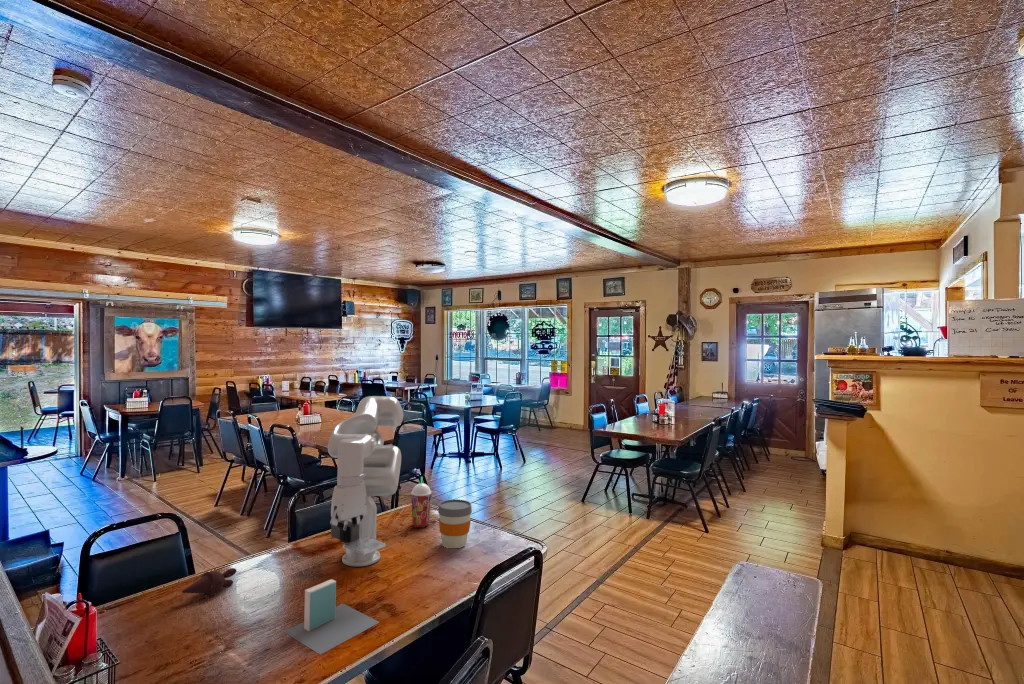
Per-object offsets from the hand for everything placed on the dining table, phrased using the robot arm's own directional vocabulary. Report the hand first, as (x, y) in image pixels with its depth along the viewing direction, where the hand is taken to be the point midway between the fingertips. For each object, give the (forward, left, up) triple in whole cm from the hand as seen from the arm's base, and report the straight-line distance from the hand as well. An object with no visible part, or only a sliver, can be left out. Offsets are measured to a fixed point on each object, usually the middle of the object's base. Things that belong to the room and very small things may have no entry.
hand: (348, 539), depth 156 cm
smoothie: (-22, +52, -15) cm, 58 cm away
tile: (+11, -17, -14) cm, 25 cm away
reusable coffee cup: (+2, +46, -15) cm, 48 cm away
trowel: (+3, 0, 0) cm, 3 cm away
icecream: (-28, -27, -15) cm, 42 cm away
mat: (+15, -16, -15) cm, 27 cm away
